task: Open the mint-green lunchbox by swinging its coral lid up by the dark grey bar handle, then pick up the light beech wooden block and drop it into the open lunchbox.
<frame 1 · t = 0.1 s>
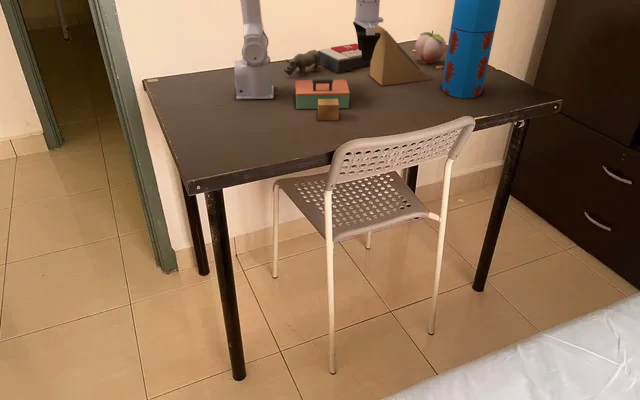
hand: (364, 55, 130), 10 cm above the table, tool pointing down, fingers open, 7 cm apart
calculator: (347, 63, 154), on the table
decorative fruit: (428, 64, 155), on the table
sandwich container: (399, 78, 145), on the table
thermos: (461, 90, 138), on the table
lunchbox: (321, 101, 131), on the table
lid: (321, 81, 127), point 6 cm above the table, hinge at 0.0°
block: (327, 117, 123), on the table
rhino figurine: (302, 74, 147), on the table
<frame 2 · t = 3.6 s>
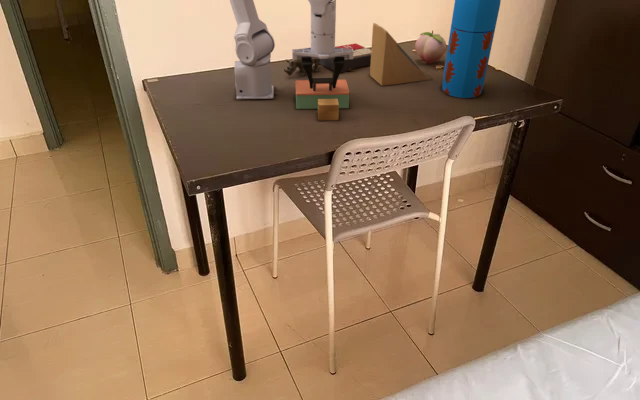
hand: (322, 87, 125), 5 cm above the table, tool pointing down, fingers closed on lid, 5 cm apart
lid: (321, 81, 127), point 6 cm above the table, hinge at 0.0°, touching gripper
everything else where it was.
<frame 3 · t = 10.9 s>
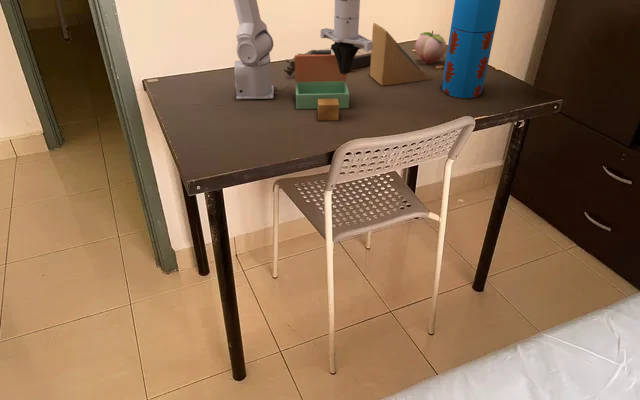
hand: (344, 72, 124), 9 cm above the table, tool pointing down, fingers closed
lid: (321, 63, 129), point 9 cm above the table, hinge at 66.1°
everything else where it was.
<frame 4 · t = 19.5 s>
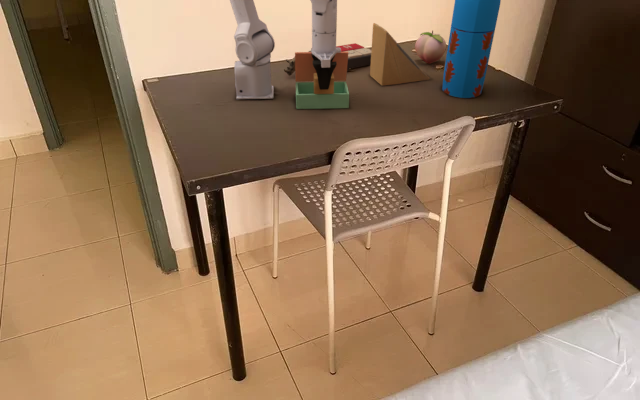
hand: (323, 85, 125), 6 cm above the table, tool pointing down, fingers closed on block, 3 cm apart
lid: (320, 63, 129), point 9 cm above the table, hinge at 73.2°, touching gripper
block: (323, 91, 126), point 4 cm above the table, touching gripper
everything else where it was.
when the fingers open (5 cm above the table, at t = 24.6 s): block drops 3 cm, resting on lunchbox.
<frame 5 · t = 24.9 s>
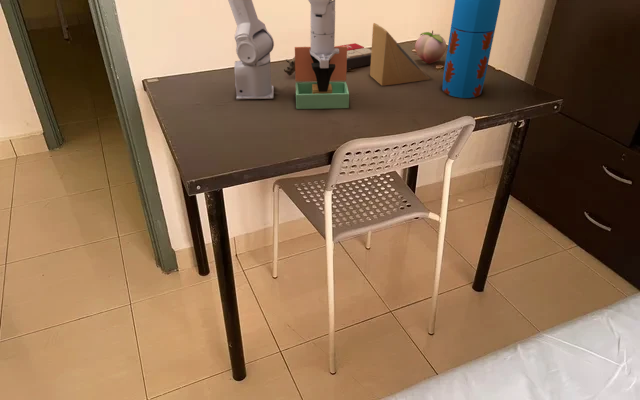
hand: (322, 86, 127), 5 cm above the table, tool pointing down, fingers open, 6 cm apart
lid: (320, 62, 131), point 8 cm above the table, hinge at 94.0°, touching gripper
block: (321, 101, 129), point 1 cm above the table, touching lunchbox
everything else where it was.
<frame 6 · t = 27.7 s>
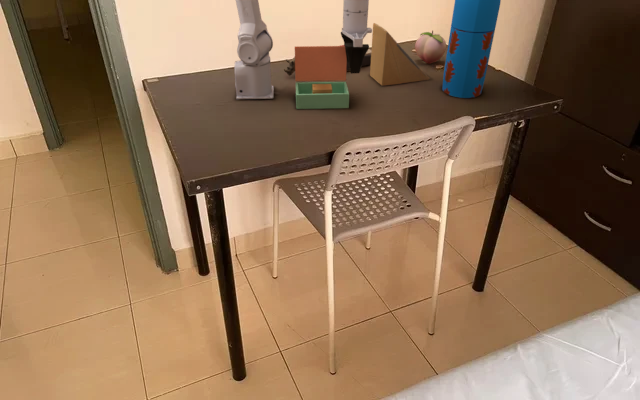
hand: (353, 67, 124), 10 cm above the table, tool pointing down, fingers open, 7 cm apart
lid: (320, 62, 131), point 8 cm above the table, hinge at 98.1°
everything else where it was.
at the end: lid at +98° (first picture: +0°); block inside the target area in the lunchbox (1.2 cm from its centre), point 0.6 cm above the lunchbox's base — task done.
